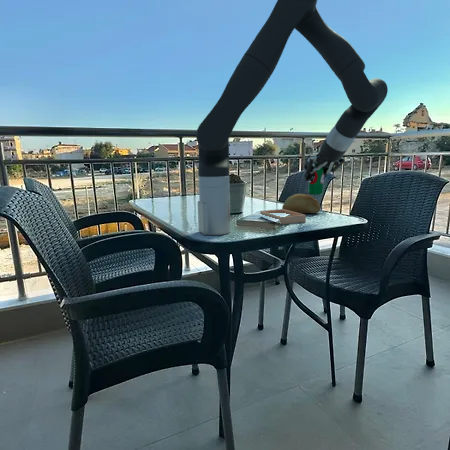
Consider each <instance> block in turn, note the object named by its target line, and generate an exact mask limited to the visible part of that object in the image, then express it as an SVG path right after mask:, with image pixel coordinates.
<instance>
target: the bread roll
mask: <svg viewBox="0 0 450 450" xmlns="http://www.w3.org/2000/svg"><path fill="white" fill-rule="evenodd" d="M281 209H285V210H289V211H293V212H296V213H300V214H317V213H319V212H320V211H321V205H320V202H319V201H318V200H317V199H316V198H315V197H314V196H313V195H311V194H306V193H295V194H293V195H290V196H288V197H287V199H286V200H285V201H284V203H283V205H282V208H281Z"/></svg>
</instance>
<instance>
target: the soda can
mask: <svg viewBox="0 0 450 450" xmlns="http://www.w3.org/2000/svg"><path fill="white" fill-rule="evenodd" d="M316 165H317V163H316ZM317 167H318V165H317ZM313 169H314V167H313V168H312V170H313ZM324 179H325V178H324V167H322V168H320V169H319V170H318V171H317V170H316V171H315V172H314V173H313V175H312V176H311V178H310V179H309V181H307V182H308V185H307V186H308V187H307V192H308V195H310V196H313V195H314V196H319V195H323V193H324V181H325V180H324Z"/></svg>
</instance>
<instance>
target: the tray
mask: <svg viewBox="0 0 450 450" xmlns="http://www.w3.org/2000/svg"><path fill="white" fill-rule="evenodd" d="M259 212H260V213H259V215H260V214H262V215H265V216H269V217H272V218H275V219H279V220H280V222H281V225H290V224H301V223H306V220H307V219H306V218H307V217H306V216H307V215H306V214H305V213H296V212H293V211H289V210H285V209H282V208H279V209H268V210H266V209H265V210H260V211H259ZM270 213H286V214H290V216H286V217H280V216H276V215H273V214H270Z"/></svg>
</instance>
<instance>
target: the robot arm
mask: <svg viewBox="0 0 450 450" xmlns="http://www.w3.org/2000/svg"><path fill="white" fill-rule="evenodd" d="M317 3H318V0H277V1H276V2H275V4H274V6H273V9H272V11H270V12H271V13H270V15H269V16H268V18H267V19H266V21H265V23H264V24H263V25H262V26H261V29H260V30H259V31H258V32H257V34H256V36H255V38H254V39H253V40H252V42H251V43H250V45H249V47H248V48H247V50H246V51H245V52H244V53H243V56H242V57H241V59H240V61H239V62H238V64H237V65H236V67H235V69H234V71H233V73H232V74H231V76H230V78H229V80H228V82H227V83H226V85H225V88H224V89H223V92H222V94H221V95H220V97H219V99H218V100H217V101H216V103H215V105H214V106H213V108H211V110H210V111H209V113H208V114H207V115H206V117H205V118H204V119H203V120H202V121H201V122H200V124H199V125H198V127H197V129H196V134H195V136H196V137H195V138H196V142H197V145H198V165H197V166H198V167H197V171H198V173H197V174H198V194H199V195H198V197H199V199H198V200H197V215H198V216H197V219H198V222H197V223H198V224H197V225H198V232H199V233H201V234H202V235H204V236H208V235H209V236H221V235H227V234H229V233H231V203H230V202H231V194H230V188H231V187H230V184H231V183H230V137H231V134H232V132H233V130H234V128H235V126H236V124H237V123H238V120H240V117H241V115H242V114H243V112H245V110H246V109H247V108H248V107H249V106H250V104H252V103H253V101H254V100H255V99H256V98H257V96H258V95H259V94H260V93H261V91H262V89H264V87H265V85H266V84H267V83H268V81H269V80H270V78H271V76H272V75H273V73H274V71H275V70H276V67H277V65H278V63H279V61H280V59H281V56H282V55H283V53H284V49H285V48H286V45H287V43H288V40H289V39H290V36H291V35H292V33H293V31H294V30H296V31H297V32H298V33H299V34H300V35H302V37H303V38H305V40H306V41H307V42H308V43H310V45H311V46H312V48H314V49H315V50H316V52H318V54H319V55H320V56H321V58H322V59H323V60H324V62H325V63H326V64H327V65H328V66H329V68H330V70H331V71H332V72H333V73H334V75H335V76H336V77H337V78H338V80H339V81H340V82H341V85H342V88H343V90H344V92H345V95H346V97H347V98H348V102H350V104H351V105H350V106H349V107H347V108H346V109H345V110H344V112H342V114H341V115H340V117H339V118H338V119H337V122H336V123H335V124H334V126H333V127H332V128H331V129H330V131H329V132H328V134H327V136H326V137H325V139H324V141H322V144H321V145H320V147H319V152H317V153H316V154H315V156H312V155H311V154H310V155H307V156H306V160H305V162H304V166H303V169H304V170H305V173H304V175H303V177H304V180H305V182H309V179H310V178H311V176H312V175H313V173H314V172H315V171H316V170H317V171H318V170H319V169H320V168H322V167H324V179H325V178H326V176H327V175H328V174H330V173H335V172H336V171H337V170H338V169H339V168H340V167H341V166H342V165H343V164H344V163H345V162H346V160H345V158H344V156H345V154H346V152H348V150H349V148H350V147H352V146H351V145H352V144H353V143H354V141H355V139H356V137H357V136H358V135H359V133H360V131H362V128H363V127H364V126H365V124H366V123H367V121H368V120H369V119H370V118H372V116H373V115H374V113H375V112H376V111H377V110H378V108H380V106H381V105H382V104H383V103H384V102H385V99H386V97H387V95H388V92H389V91H388V89H389V88H388V85H387V83H386V81H385V80H383V79H382V78H377V77H376V78H371V79H369V78H368V77H367V74H366V73H365V69H366V64H365V62H364V60H363V59H362V57H361V56H360V55H359V53H358V52H357V51H356V49H355V48H354V47H353V46H352V44H351V43H350V42H349V41H348V40H347V39H346V38H344V37H343V36H342V35H341V34H339V33H337V32H336V31H334V29H332V28H331V27H330V26H329V25H328V24H327V23H326V22H325V21H324V19H323V18H322V16H321V14H320V12H319V10H318V8H317ZM316 163H317V165H318V167H317V165H316ZM313 167H314V169H313V170H312V168H313Z"/></svg>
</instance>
